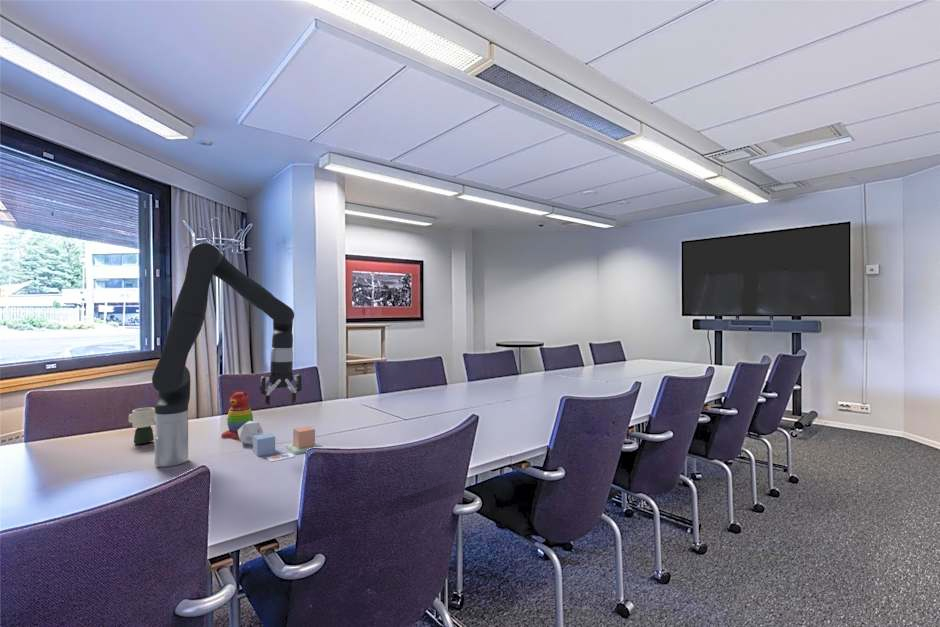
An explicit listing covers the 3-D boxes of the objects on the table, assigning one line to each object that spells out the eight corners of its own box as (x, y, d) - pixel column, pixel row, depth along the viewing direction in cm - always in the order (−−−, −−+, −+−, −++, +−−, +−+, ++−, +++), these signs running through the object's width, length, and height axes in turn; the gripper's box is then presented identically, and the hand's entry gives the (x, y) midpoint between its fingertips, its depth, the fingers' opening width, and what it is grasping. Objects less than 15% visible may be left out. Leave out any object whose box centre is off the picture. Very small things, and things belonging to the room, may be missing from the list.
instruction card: (270, 461, 151) (270, 461, 151) (266, 457, 155) (266, 457, 155) (294, 457, 156) (294, 456, 156) (290, 453, 160) (290, 452, 160)
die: (238, 449, 166) (255, 428, 166) (228, 434, 170) (244, 413, 171) (256, 451, 173) (272, 431, 173) (246, 436, 178) (262, 416, 178)
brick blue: (257, 456, 157) (257, 439, 157) (252, 452, 161) (253, 435, 161) (275, 453, 161) (275, 436, 160) (270, 448, 165) (270, 432, 165)
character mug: (164, 440, 175) (164, 407, 175) (152, 445, 168) (152, 411, 168) (135, 440, 174) (135, 407, 174) (122, 446, 167) (122, 411, 167)
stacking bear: (218, 437, 179) (218, 393, 179) (238, 430, 189) (238, 389, 188) (240, 440, 176) (240, 395, 176) (259, 433, 185) (259, 390, 185)
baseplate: (294, 454, 159) (294, 450, 159) (286, 447, 167) (286, 444, 167) (322, 448, 165) (322, 445, 165) (312, 442, 173) (312, 439, 173)
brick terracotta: (298, 448, 162) (298, 432, 162) (293, 444, 166) (293, 428, 166) (315, 445, 166) (315, 429, 166) (309, 441, 170) (309, 425, 170)
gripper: (264, 361, 156) (262, 408, 156) (305, 360, 165) (303, 404, 165) (258, 359, 161) (256, 404, 161) (298, 358, 170) (296, 400, 170)
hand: (280, 404), depth 163 cm, fingers open, 8 cm apart
